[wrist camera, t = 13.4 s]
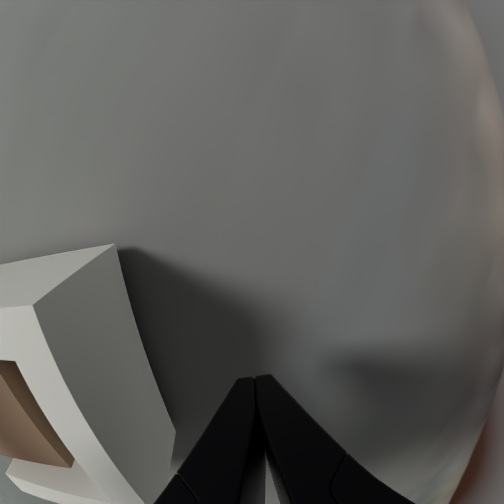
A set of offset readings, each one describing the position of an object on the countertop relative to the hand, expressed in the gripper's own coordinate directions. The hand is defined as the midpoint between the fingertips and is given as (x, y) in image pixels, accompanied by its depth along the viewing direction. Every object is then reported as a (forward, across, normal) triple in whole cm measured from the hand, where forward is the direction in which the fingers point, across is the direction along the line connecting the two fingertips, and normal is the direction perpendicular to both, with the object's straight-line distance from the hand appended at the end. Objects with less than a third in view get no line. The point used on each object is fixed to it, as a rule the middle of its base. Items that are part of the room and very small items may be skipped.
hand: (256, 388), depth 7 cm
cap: (+3, +7, 0) cm, 7 cm away
